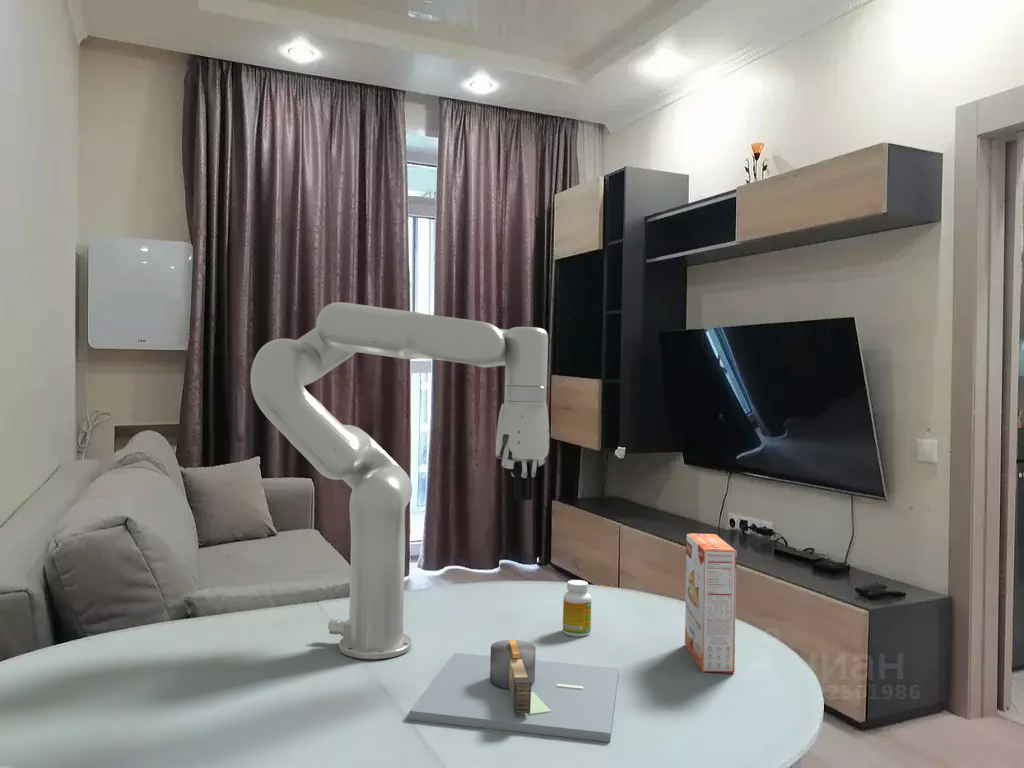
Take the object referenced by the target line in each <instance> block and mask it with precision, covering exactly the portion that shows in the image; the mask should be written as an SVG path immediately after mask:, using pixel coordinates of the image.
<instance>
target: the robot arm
mask: <svg viewBox="0 0 1024 768" xmlns="http://www.w3.org/2000/svg"><path fill="white" fill-rule="evenodd" d="M315 324H316V326H315V327H314V328H312V329H311V330H309V331H308V332H307V333H305V334H303V335H302V336H301V337H299V338H298V339H292V338H275V339H273V340H271V341H268V342H266V343H265V344H264V345H263V346H261V348H260V349H259V350H258V352H257V353H256V355H255V357H254V359H253V362H252V365H251V370H250V387H251V392H252V395H253V399H254V400H255V402H256V405H257V406H258V408H259V410H260V411H261V412H262V413H263V415H264V417H266V418H267V419H268V420H269V421H270V423H272V425H274V426H275V428H276V429H277V430H278V431H279V432H280V433H281V434H282V435H283V436H284V437H285V438H286V439H287V440H288V441H289V442H290V444H291V445H292V446H293V447H294V448H295V449H296V450H297V451H298V452H299V453H300V454H301V455H302V456H303V457H304V458H305V459H306V460H307V461H308V462H309V463H310V464H311V465H312V466H313V467H314V468H315V470H316V471H318V473H319V474H321V475H322V476H323V477H325V478H327V479H329V480H335V481H338V480H339V481H341V480H342V481H344V482H345V484H346V485H348V487H349V488H350V489H351V493H350V498H349V522H350V576H349V577H350V578H349V605H348V606H349V608H348V609H349V612H348V613H349V614H348V615H349V617H348V619H346V620H341V619H332V618H331V619H330V620H329V622H328V625H327V629H328V633H329V635H341V637H342V638H341V640H340V641H339V651H340V652H341V653H342V654H344V655H345V656H348V657H351V658H355V659H360V660H361V659H362V660H380V659H381V660H383V659H390V658H394V657H398V656H401V655H403V654H406V653H407V652H408V651H409V650H410V649H411V648H412V639H411V637H410V636H409V635H407V634H405V633H404V608H405V607H404V604H405V602H404V599H405V569H406V568H405V565H406V564H405V563H406V561H405V559H406V557H405V556H406V523H405V522H406V507H407V505H408V504H409V502H410V501H411V498H412V495H413V485H412V482H411V479H410V476H409V475H408V473H407V472H406V471H405V470H404V469H403V467H401V466H400V465H399V463H397V461H395V460H394V459H393V457H392V456H390V455H389V454H388V453H387V451H386V450H384V449H383V448H382V447H381V446H380V445H379V444H378V443H377V441H376V440H374V438H372V437H371V436H370V435H369V434H368V433H367V432H366V431H364V430H363V429H361V428H360V427H357V426H355V425H352V424H343V423H341V422H340V421H339V420H338V419H337V418H336V417H335V416H333V414H332V413H331V412H329V410H328V409H327V408H326V407H325V406H324V405H323V404H322V403H321V402H320V401H319V400H318V399H316V397H314V395H312V394H311V393H310V392H309V391H308V390H307V389H306V388H305V386H307V385H310V384H312V383H314V382H316V381H318V380H319V379H320V378H322V377H324V376H325V375H327V373H329V372H330V371H332V370H333V369H336V367H338V366H339V365H341V364H342V363H343V362H346V361H347V360H348V359H349V358H351V357H352V356H353V355H355V354H356V353H359V354H360V353H362V354H366V355H367V354H369V355H375V356H384V357H391V358H397V359H402V360H416V359H426V360H437V361H444V362H445V361H446V362H452V363H459V364H460V363H461V364H466V365H472V366H473V365H474V366H476V367H479V368H494V367H503V366H504V367H505V368H504V398H503V399H504V400H503V401H504V403H501V407H500V410H499V414H498V420H497V426H496V427H497V428H496V436H495V437H496V440H495V456H496V458H497V459H500V460H501V464H500V465H501V467H502V468H505V469H509V470H510V474H511V476H512V477H513V489H512V490H513V491H512V498H513V499H515V500H518V501H525V502H526V501H530V500H531V501H532V500H533V498H534V497H533V496H534V495H533V494H534V493H533V492H534V488H533V487H534V478H535V476H536V474H537V470H538V468H539V467H541V466H543V465H544V464H545V463H546V461H545V458H547V457H548V454H549V451H550V423H549V420H550V419H549V412H548V411H549V410H548V404H547V398H548V397H547V395H548V394H547V391H548V390H547V389H548V388H547V387H548V355H549V354H548V353H549V350H548V348H549V335H548V332H547V331H546V330H545V329H544V328H541V327H537V326H535V327H534V326H515V327H511V328H509V329H504V328H499V327H497V326H496V325H494V324H492V323H489V322H485V321H482V320H481V321H480V320H472V319H464V318H459V317H451V316H442V315H435V314H427V313H422V312H421V313H420V312H417V311H410V310H402V309H394V308H387V307H380V306H373V305H365V304H359V303H351V302H344V301H343V302H340V301H339V302H337V301H336V302H333V303H329V304H326V306H324V307H323V308H322V309H321V310H320V312H319V314H318V316H317V318H316V323H315Z"/></svg>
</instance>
